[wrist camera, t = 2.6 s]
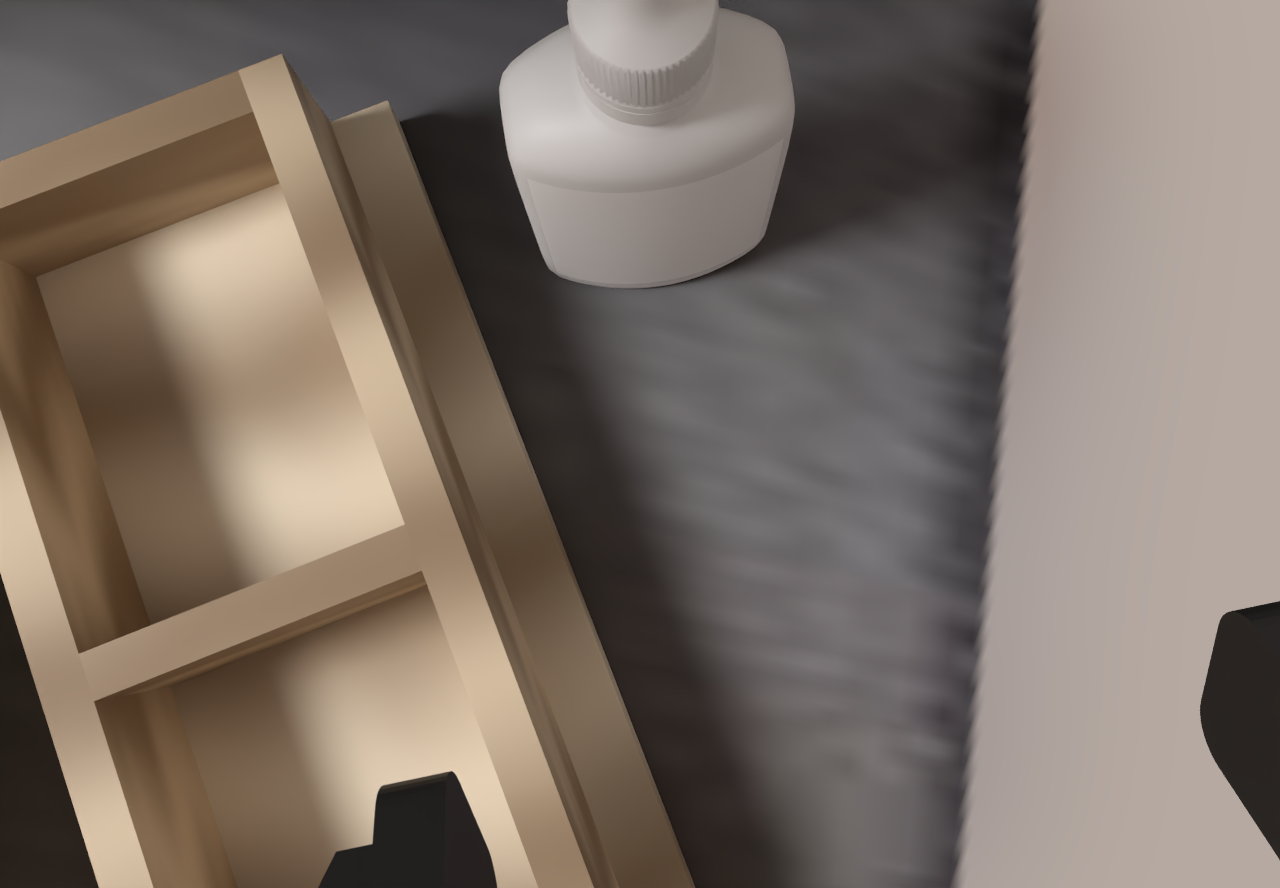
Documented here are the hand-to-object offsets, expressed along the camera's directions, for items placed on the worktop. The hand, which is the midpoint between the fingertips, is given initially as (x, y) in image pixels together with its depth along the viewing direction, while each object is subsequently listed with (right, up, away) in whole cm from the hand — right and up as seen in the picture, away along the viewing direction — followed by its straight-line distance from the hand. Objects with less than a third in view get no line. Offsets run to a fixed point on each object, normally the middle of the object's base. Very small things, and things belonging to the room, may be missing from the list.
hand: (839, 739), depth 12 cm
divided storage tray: (-10, -1, +15) cm, 18 cm away
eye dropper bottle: (-2, +9, +17) cm, 19 cm away
